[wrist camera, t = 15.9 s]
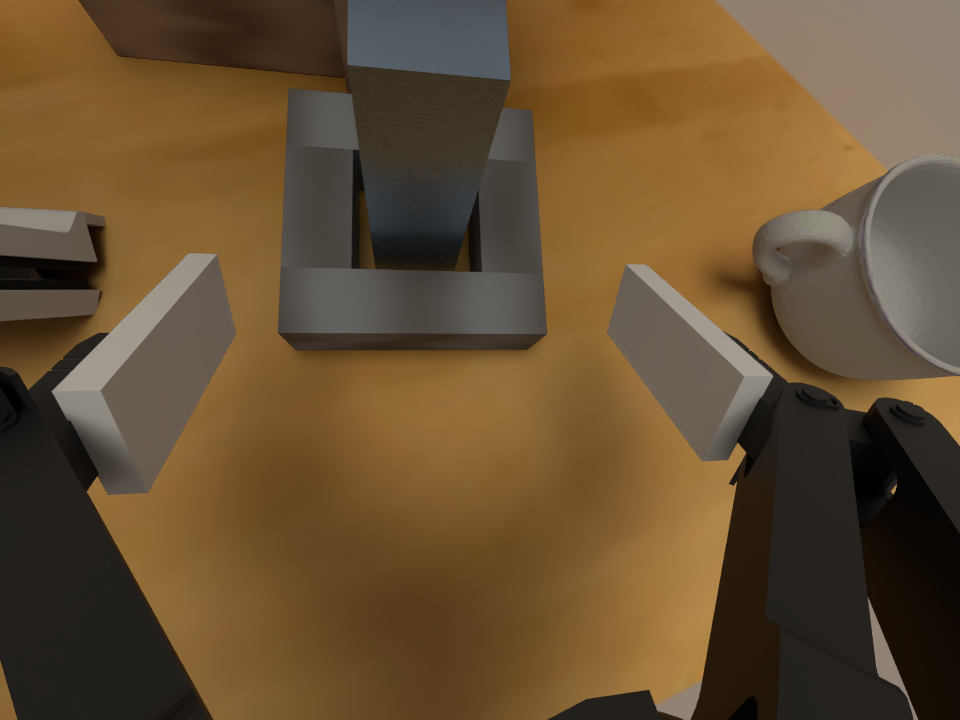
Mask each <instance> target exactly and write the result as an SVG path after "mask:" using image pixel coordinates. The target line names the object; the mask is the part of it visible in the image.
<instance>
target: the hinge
mask: <svg viewBox="0 0 960 720" xmlns="http://www.w3.org/2000/svg"><path fill="white" fill-rule="evenodd" d="M87 226H100V227H105V219H104V217H102V216H98V215H94V214H90V213H85V212H81V211H64V210H46V209H29V208H11V207H0V321H10V320H25V319H40V318H54V317H69V316H83V315H94V314H95V311H96V309H97V306H98V300H99V294H100V290H90V289H89V285H88V281H80V280H49V279H43V278H42V277H41V276H40V275H39V274H38V272H37V271H36V269H56V270H80V271H87V263H86V262H97V259H96V255H95V252H94V248H93V245H92V241H91V238H90V234H89V231H88V227H87Z"/></svg>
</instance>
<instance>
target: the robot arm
mask: <svg viewBox="0 0 960 720" xmlns="http://www.w3.org/2000/svg"><path fill="white" fill-rule="evenodd" d="M607 333H608V335H609V336H610V337H611V339H612V340H613V341H614V343H615V344H616V345H617V347H618V348H619V349H620V351H621V352H622V354H623V355H624V356H625V358H626V359H627V360H628V362H629V363H630V364H631V366H632V367H633V368H634V370H635V371H636V373H637V374H638V375H639V377H640V378H641V379H642V381H643V382H644V383H645V385H646V386H647V387H648V389H649V390H650V391H651V393H652V394H653V396H654V397H655V398H656V400H657V401H658V402H659V404H660V405H661V406H662V408H663V409H664V410H665V412H666V413H667V415H668V416H669V417H670V419H671V420H672V421H673V423H674V424H675V425H676V427H677V428H678V429H679V431H680V432H681V434H682V435H683V436H684V438H685V439H686V440H687V442H688V443H689V444H690V446H691V447H692V448H693V450H694V451H695V453H696V454H697V455H698V457H699V458H700V459H701V461H716V460H728V459H729V457H730V455H731V453H732V451H733V450H734V448H735V446H736V444H737V442H738V443H739V444H740V446H741V447H742V448H743V449H744V450H745V451H746V455H745V456H744V458H743V460H742V462H741V463H740V465H739V467H738V469H737V471H736V472H735V474H734V476H733V478H732V479H731V481H730V483H729V484H731V485H733V486H734V484H735V483H736V481H737V486H736V492H735V497H734V503H733V509H732V514H731V520H730V526H729V531H728V537H727V543H726V549H725V554H724V560H723V566H722V571H721V577H720V583H719V588H718V594H717V600H716V605H715V611H714V617H713V622H712V628H711V634H710V639H709V645H708V651H707V657H706V662H705V668H704V674H703V679H702V685H701V691H700V695H699V699H698V702H697V705H696V708H695V710H694V713H693V715H692V718H691V720H913V715H912V711H911V708H910V705H909V702H908V699H907V697H906V695H905V694H904V693H903V692H902V691H901V689H900V688H899V687H897V686H896V685H894V684H892V683H890V682H888V681H886V680H884V679H882V678H880V677H879V676H878V673H877V669H876V662H875V654H874V646H873V637H872V629H871V622H870V612H869V604H868V598H869V600H870V603H871V605H872V608H873V610H874V612H875V614H876V617H877V620H878V622H879V625H880V627H881V630H882V632H883V634H884V637H885V639H886V642H887V644H888V647H889V649H890V652H891V654H892V656H893V659H894V661H895V664H896V666H897V669H898V671H899V674H900V676H901V678H902V681H903V683H904V686H905V688H906V691H907V693H908V696H909V698H910V701H911V703H912V705H913V708H914V710H915V713H916V715H917V718H918V720H960V446H959V445H958V443H957V442H956V441H955V440H954V439H953V437H952V436H951V435H950V434H949V432H948V431H947V430H946V429H945V428H944V426H943V425H942V424H941V423H940V422H939V421H938V420H937V419H936V418H935V417H934V416H933V415H931V414H930V413H928V412H926V411H925V410H924V409H923V408H922V407H920V406H918V405H914V404H913V403H911V402H908V401H901V400H898V399H893V398H886V397H885V398H878V399H877V400H876V401H875V402H874V404H873V405H872V406H871V408H870V409H869V410H868V412H867V413H866V412H860V411H854V410H849V409H845V408H844V406H843V404H842V403H841V402H840V401H839V400H838V399H837V398H836V397H835V396H833V395H831V394H830V393H828V392H826V391H825V390H822V389H820V388H817V387H815V386H812V385H808V384H804V383H793V382H792V383H788V382H787V381H786V380H785V379H783V378H782V377H781V376H780V375H779V374H778V373H776V372H775V371H774V370H773V369H772V368H771V367H769V366H768V365H767V364H766V363H765V362H764V361H762V360H761V359H759V357H758V356H757V355H756V354H754V353H753V352H752V351H749V348H747V347H746V346H745V345H744V344H743V343H742V342H740V341H739V340H738V339H736V338H735V337H733V336H731V335H729V334H727V333H725V332H723V331H722V330H720V329H719V328H718V327H717V326H716V325H715V324H714V323H712V322H711V321H710V320H709V319H708V318H707V317H706V316H704V315H703V314H702V313H701V312H700V311H699V310H698V309H696V308H695V307H694V306H693V305H692V304H691V303H690V302H688V301H687V300H686V299H685V298H684V297H683V296H681V295H680V294H679V293H678V292H677V291H676V290H675V289H673V288H672V287H671V286H670V285H669V284H668V283H667V282H665V281H664V280H663V279H662V278H661V277H660V276H659V275H657V274H656V273H655V272H654V271H653V270H652V269H651V268H649V267H648V266H647V265H635V264H626V266H625V270H624V273H623V277H622V281H621V284H620V288H619V291H618V295H617V299H616V302H615V306H614V309H613V313H612V317H611V320H610V324H609V327H608V331H607ZM235 335H236V331H235V327H234V322H233V318H232V314H231V310H230V306H229V302H228V298H227V293H226V289H225V285H224V281H223V277H222V273H221V268H220V264H219V260H218V256H217V254H192V253H189V254H188V255H187V256H186V257H185V258H184V259H183V260H182V261H181V262H180V263H179V264H178V265H177V266H176V267H175V268H174V269H173V270H172V271H171V272H170V273H169V274H168V275H167V276H166V277H165V278H164V279H163V280H162V281H161V282H160V283H159V284H158V285H157V286H156V287H155V288H154V289H153V290H152V291H151V292H150V293H149V294H148V295H147V296H146V297H145V298H144V299H143V300H142V301H141V302H140V303H139V304H138V305H137V306H136V307H135V308H134V309H133V310H132V311H131V312H130V313H129V314H128V315H127V316H126V317H125V318H124V319H123V320H122V321H121V322H120V323H119V324H118V325H117V326H116V327H115V328H114V329H113V330H112V331H111V332H110V333H98V334H96V335H94V336H92V337H90V338H88V339H86V340H84V341H83V342H81V343H79V344H77V345H76V346H75V347H74V348H73V349H72V350H70V351H69V352H68V353H67V354H66V355H65V356H64V357H63V360H60V361H59V362H58V363H57V364H56V365H54V366H53V367H52V368H51V369H52V371H48V372H47V373H46V374H45V375H44V376H43V377H42V378H41V379H40V380H38V381H37V382H36V383H35V384H34V385H33V386H32V387H31V388H30V389H29V390H27V388H26V386H25V384H24V383H23V381H22V379H21V377H20V376H19V374H18V373H17V372H16V371H14V370H13V369H11V368H6V367H0V660H1V664H2V667H3V671H4V674H5V678H6V681H7V685H8V688H9V692H10V695H11V699H12V702H13V705H14V709H15V712H16V716H17V719H18V720H213V718H212V716H211V715H210V713H209V711H208V709H207V707H206V706H205V704H204V702H203V700H202V698H201V697H200V695H199V693H198V691H197V689H196V688H195V686H194V684H193V682H192V680H191V679H190V677H189V675H188V673H187V671H186V670H185V668H184V666H183V664H182V662H181V661H180V659H179V657H178V655H177V653H176V652H175V650H174V648H173V646H172V644H171V643H170V641H169V639H168V637H167V635H166V634H165V632H164V630H163V628H162V626H161V625H160V623H159V621H158V619H157V617H156V616H155V614H154V612H153V610H152V608H151V607H150V605H149V603H148V601H147V599H146V598H145V596H144V594H143V592H142V590H141V589H140V587H139V585H138V583H137V581H136V580H135V578H134V576H133V574H132V572H131V570H130V569H129V567H128V565H127V563H126V561H125V560H124V558H123V556H122V554H121V552H120V551H119V549H118V547H117V545H116V543H115V542H114V540H113V538H112V536H111V534H110V533H109V531H108V529H107V527H106V525H105V524H104V522H103V520H102V518H101V516H100V515H99V513H98V511H97V509H96V507H95V506H94V504H93V502H92V500H91V499H90V497H89V495H88V493H87V490H88V489H89V487H90V486H91V484H92V483H93V481H94V480H95V479H96V477H97V476H98V477H99V479H100V481H101V483H102V485H103V487H104V489H105V490H106V492H107V494H108V495H115V494H132V493H148V492H149V490H150V489H151V487H152V485H153V483H154V481H155V480H156V478H157V476H158V474H159V472H160V470H161V469H162V467H163V465H164V463H165V461H166V460H167V458H168V456H169V454H170V452H171V451H172V449H173V447H174V445H175V443H176V442H177V440H178V438H179V436H180V434H181V433H182V431H183V429H184V427H185V425H186V423H187V422H188V420H189V418H190V416H191V414H192V413H193V411H194V409H195V407H196V405H197V404H198V402H199V400H200V398H201V396H202V395H203V393H204V391H205V389H206V387H207V386H208V384H209V382H210V380H211V378H212V376H213V375H214V373H215V371H216V369H217V367H218V366H219V364H220V362H221V360H222V358H223V357H224V355H225V353H226V351H227V349H228V348H229V346H230V344H231V342H232V340H233V339H234V337H235ZM896 484H897V487H896V491H895V493H894V494H892V492H891V490H892V489H893V488H894V487H895V486H896ZM867 595H868V596H867ZM548 720H683V719H681V718H678V717H675V716H672V715H669V714H666V713H663V712H658V711H657V709H656V706H655V704H654V701H653V699H652V696H651V694H650V691H649V690H645V691H638V692H631V693H625V694H618V695H611V696H605V697H598V698H591V699H586V700H584V701H582V702H580V703H578V704H576V705H574V706H573V707H571V708H569V709H567V710H565V711H563V712H561V713H559V714H557V715H556V716H554V717H552V718H550V719H548Z"/></svg>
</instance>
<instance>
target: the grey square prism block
mask: <svg viewBox="0 0 960 720" xmlns="http://www.w3.org/2000/svg"><path fill="white" fill-rule="evenodd" d="M347 66H348V73H349V81H350V88H351V95H352V102H353V109H354V117H355V124H356V131H357V138H358V145H359V153H360V160H361V167H362V174H363V181H364V189H365V196H366V203H367V210H368V217H369V225H370V232H371V239H372V246H373V253H374V261H375V268H376V269H382V270H419V271H454V269H455V266H456V262H457V259H458V256H459V252H460V249H461V246H462V242H463V239H464V235H465V232H466V229H467V225H468V222H469V219H470V215H471V212H472V209H473V205H474V202H475V199H476V195H477V192H478V189H479V185H480V182H481V179H482V175H483V172H484V169H485V165H486V162H487V159H488V155H489V152H490V149H491V145H492V142H493V139H494V135H495V132H496V129H497V125H498V122H499V118H500V115H501V112H502V108H503V105H504V102H505V98H506V95H507V92H508V88H509V85H510V82H511V74H510V59H509V44H508V28H507V13H506V0H348V41H347Z"/></svg>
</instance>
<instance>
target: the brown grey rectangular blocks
mask: <svg viewBox="0 0 960 720" xmlns="http://www.w3.org/2000/svg"><path fill="white" fill-rule="evenodd" d="M79 2H80V3H81V5H82V6H83V7H84V9H85V10H86V12H87V13H88V14H89V16H90V17H91V19H92V20H93V21H94V23H95V24H96V26H97V27H98V28H99V30H100V31H101V32H102V34H103V35H104V37H105V38H106V39H107V41H108V42H109V44H110V45H111V46H112V48H113V49H114V51H115V52H116V53H117V55H118V56H127V57H137V58H148V59H158V60H168V61H179V62H189V63H200V64H210V65H220V66H231V67H241V68H252V69H262V70H272V71H283V72H293V73H304V74H314V75H325V76H335V77H345V79H346V86H347V92H348V94H346V93H335V92H324V91H313V90H302V89H291V88H289V94H288V117H287V139H286V162H285V184H284V207H283V230H282V252H281V275H280V297H279V320H278V333H279V334H280V335H281V336H282V337H283V338H284V339H285V340H286V341H287V342H288V343H289V344H290V345H291V346H292V347H293V348H294V349H295V350H527V349H529V348H530V347H531V346H532V345H534V344H535V343H536V342H537V341H539V340H540V339H541V338H542V337H544V336H545V335H546V334H547V327H546V312H545V297H544V282H543V267H542V252H541V237H540V222H539V208H538V193H537V178H536V163H535V148H534V133H533V118H532V110H523V109H512V108H502V112H501V115H500V118H499V122H498V125H497V129H496V132H495V135H494V139H493V142H492V145H491V149H490V152H489V155H488V159H487V162H486V165H485V169H484V172H483V175H482V179H481V182H480V185H479V189H478V192H477V195H476V199H475V202H474V205H473V209H472V212H471V215H470V219H469V222H468V224H469V252H470V272H456V271H419V270H382V269H358V267H359V190H365V189H364V181H363V174H362V167H361V160H360V153H359V145H358V138H357V131H356V124H355V117H354V109H353V102H352V95H351V88H350V81H349V73H348V66H347V41H348V0H79Z"/></svg>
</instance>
